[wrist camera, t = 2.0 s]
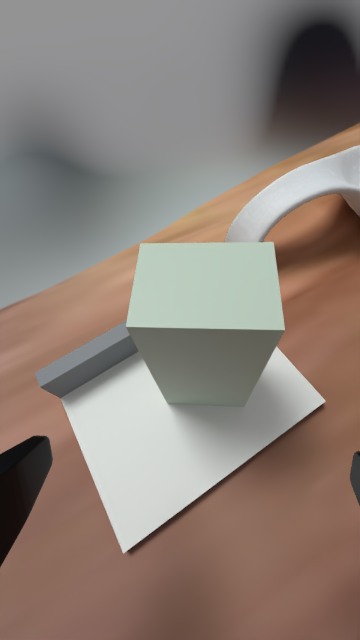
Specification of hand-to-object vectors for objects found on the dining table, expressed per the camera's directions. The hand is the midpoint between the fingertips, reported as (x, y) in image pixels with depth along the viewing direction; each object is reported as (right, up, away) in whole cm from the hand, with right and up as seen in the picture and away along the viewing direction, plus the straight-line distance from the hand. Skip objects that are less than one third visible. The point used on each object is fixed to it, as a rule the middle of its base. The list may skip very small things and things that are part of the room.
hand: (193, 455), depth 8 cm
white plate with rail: (0, -2, +13) cm, 13 cm away
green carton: (+2, 0, +13) cm, 13 cm away
